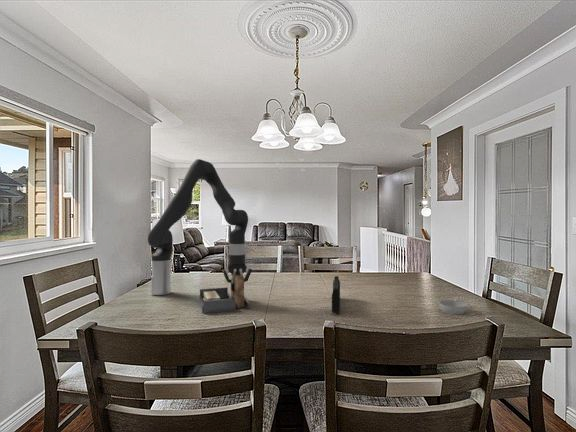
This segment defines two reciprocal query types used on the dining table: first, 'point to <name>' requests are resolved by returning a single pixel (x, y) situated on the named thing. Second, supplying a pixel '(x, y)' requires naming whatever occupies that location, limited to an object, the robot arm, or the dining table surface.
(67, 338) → the dining table surface
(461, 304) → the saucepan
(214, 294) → the offcut stack
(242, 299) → the walnut board
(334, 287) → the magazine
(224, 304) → the grey open tray
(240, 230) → the robot arm
